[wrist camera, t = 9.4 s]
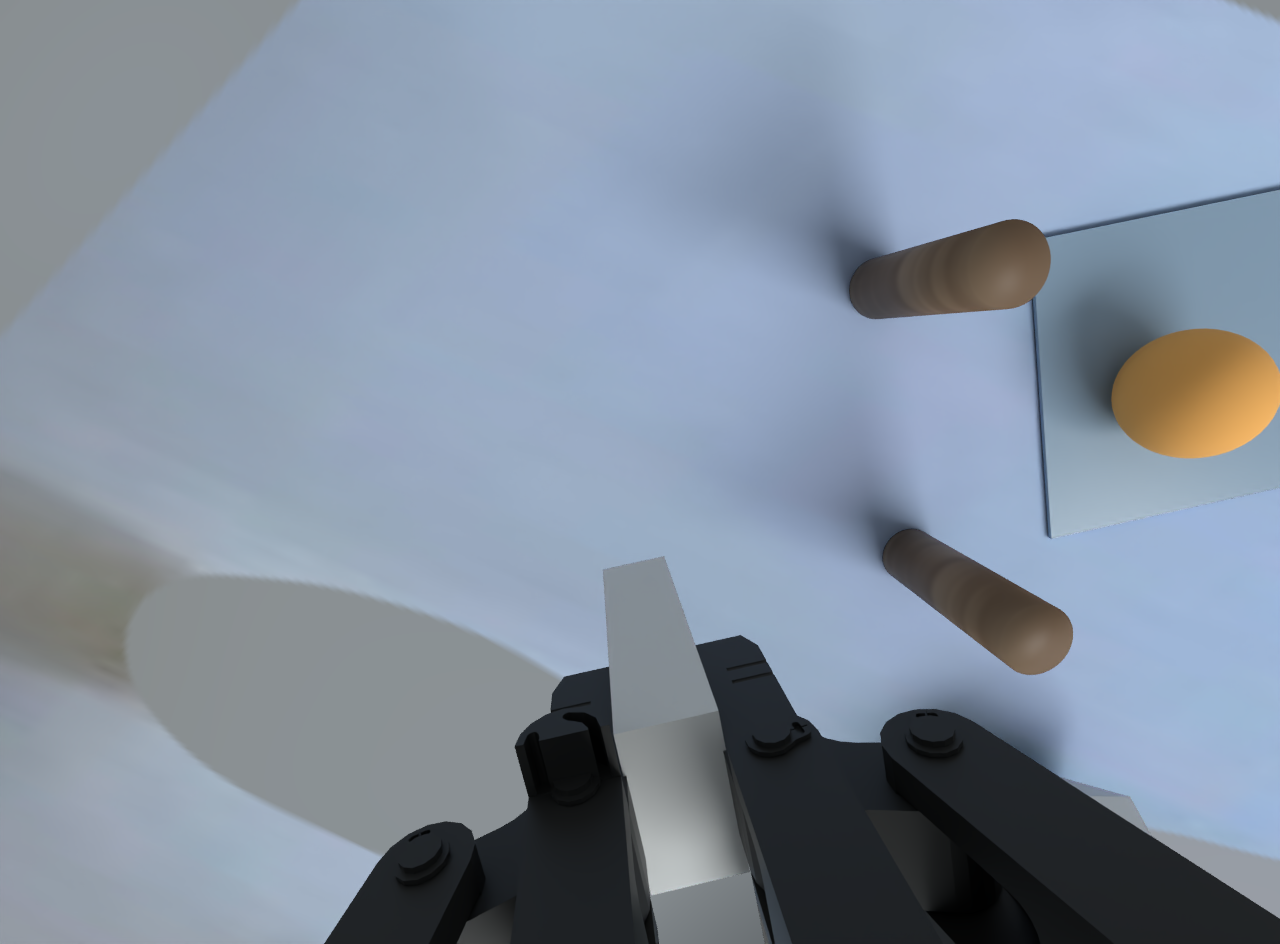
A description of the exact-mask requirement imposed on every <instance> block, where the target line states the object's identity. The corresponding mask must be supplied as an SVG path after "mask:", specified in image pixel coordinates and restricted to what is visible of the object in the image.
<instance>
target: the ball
mask: <svg viewBox="0 0 1280 944" xmlns="http://www.w3.org/2000/svg"><path fill="white" fill-rule="evenodd" d="M1111 402H1112V409H1113V412H1114V415H1115V418H1116V420H1117V422H1118V424H1119V426H1120V427H1121V429H1122V430H1123V431H1124V432H1125V433H1126V434H1127V436H1128V437H1130V438H1131V439H1132V440H1133V441H1134V442H1136V443H1137V444H1139V445H1141V446H1142V447H1144V448H1146V449H1148V450H1150V451H1152V452H1155V453H1158V454H1161V455H1165V456H1170V457H1175V458H1204V457H1211V456H1216V455H1220V454H1223V453H1226V452H1229V451H1232V450H1234V449H1236V448H1238V447H1240V446H1242V445H1244V444H1246V443H1247V442H1249V441H1251V440H1252V439H1253V438H1255V437H1256V436H1257V435H1259V434H1260V433H1261V432H1262V431H1263V430H1264V429H1265V428H1266V427H1267V426H1268V424H1269V423H1270V422H1271V420H1272V419H1273V417H1274V416H1275V414H1276V412H1277V410H1278V407H1279V405H1280V373H1279V369H1278V367H1277V366H1276V364H1275V362H1274V360H1273V359H1272V358H1271V356H1270V355H1269V354H1268V353H1267V352H1266V351H1265V350H1264V349H1263V348H1262V347H1260V346H1259V345H1258V344H1256V343H1255V342H1253V341H1252V340H1250V339H1248V338H1246V337H1244V336H1241V335H1239V334H1235V333H1232V332H1229V331H1224V330H1218V329H1207V328H1204V329H1190V330H1183V331H1178V332H1174V333H1170V334H1167V335H1165V336H1162V337H1160V338H1157V339H1155V340H1153V341H1151V342H1149V343H1148V344H1146V345H1145V346H1143V347H1141V348H1140V349H1139V350H1138V351H1136V352H1135V353H1134V354H1133V355H1132V356H1131V357H1130V358H1129V359H1128V360H1127V361H1126V362H1125V363H1124V365H1123V366H1122V368H1121V369H1120V371H1119V372H1118V374H1117V377H1116V379H1115V381H1114V384H1113V388H1112V396H1111Z"/></svg>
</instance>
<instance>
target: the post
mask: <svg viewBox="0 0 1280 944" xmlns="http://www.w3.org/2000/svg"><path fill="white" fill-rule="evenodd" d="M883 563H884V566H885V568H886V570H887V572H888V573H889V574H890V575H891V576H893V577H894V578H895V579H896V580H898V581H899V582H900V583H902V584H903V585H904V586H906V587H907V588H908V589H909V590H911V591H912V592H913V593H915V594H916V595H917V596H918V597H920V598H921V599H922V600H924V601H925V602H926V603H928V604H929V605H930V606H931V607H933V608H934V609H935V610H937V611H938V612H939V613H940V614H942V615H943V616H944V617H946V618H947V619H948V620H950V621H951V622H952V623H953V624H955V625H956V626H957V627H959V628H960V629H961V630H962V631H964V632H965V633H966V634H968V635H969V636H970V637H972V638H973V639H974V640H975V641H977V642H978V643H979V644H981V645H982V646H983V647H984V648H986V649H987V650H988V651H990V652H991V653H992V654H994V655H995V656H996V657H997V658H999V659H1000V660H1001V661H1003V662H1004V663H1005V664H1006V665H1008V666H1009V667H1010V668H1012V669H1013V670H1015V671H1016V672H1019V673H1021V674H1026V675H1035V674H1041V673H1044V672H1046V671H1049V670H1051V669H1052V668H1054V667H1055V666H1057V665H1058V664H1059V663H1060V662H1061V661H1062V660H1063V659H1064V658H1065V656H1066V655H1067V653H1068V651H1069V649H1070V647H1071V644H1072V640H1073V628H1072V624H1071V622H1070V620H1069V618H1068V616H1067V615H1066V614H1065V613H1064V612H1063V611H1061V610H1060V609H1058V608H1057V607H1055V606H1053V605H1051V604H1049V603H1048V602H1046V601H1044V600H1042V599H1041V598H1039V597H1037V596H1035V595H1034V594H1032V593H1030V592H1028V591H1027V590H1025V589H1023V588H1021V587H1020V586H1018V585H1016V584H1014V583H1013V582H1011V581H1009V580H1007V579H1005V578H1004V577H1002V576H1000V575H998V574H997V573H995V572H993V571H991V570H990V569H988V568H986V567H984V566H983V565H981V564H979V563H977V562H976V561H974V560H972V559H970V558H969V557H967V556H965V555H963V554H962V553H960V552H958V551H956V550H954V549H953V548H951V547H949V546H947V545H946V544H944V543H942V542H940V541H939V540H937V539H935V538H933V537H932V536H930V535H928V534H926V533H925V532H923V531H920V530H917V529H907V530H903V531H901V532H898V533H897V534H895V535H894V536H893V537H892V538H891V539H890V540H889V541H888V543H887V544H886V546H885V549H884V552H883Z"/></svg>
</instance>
